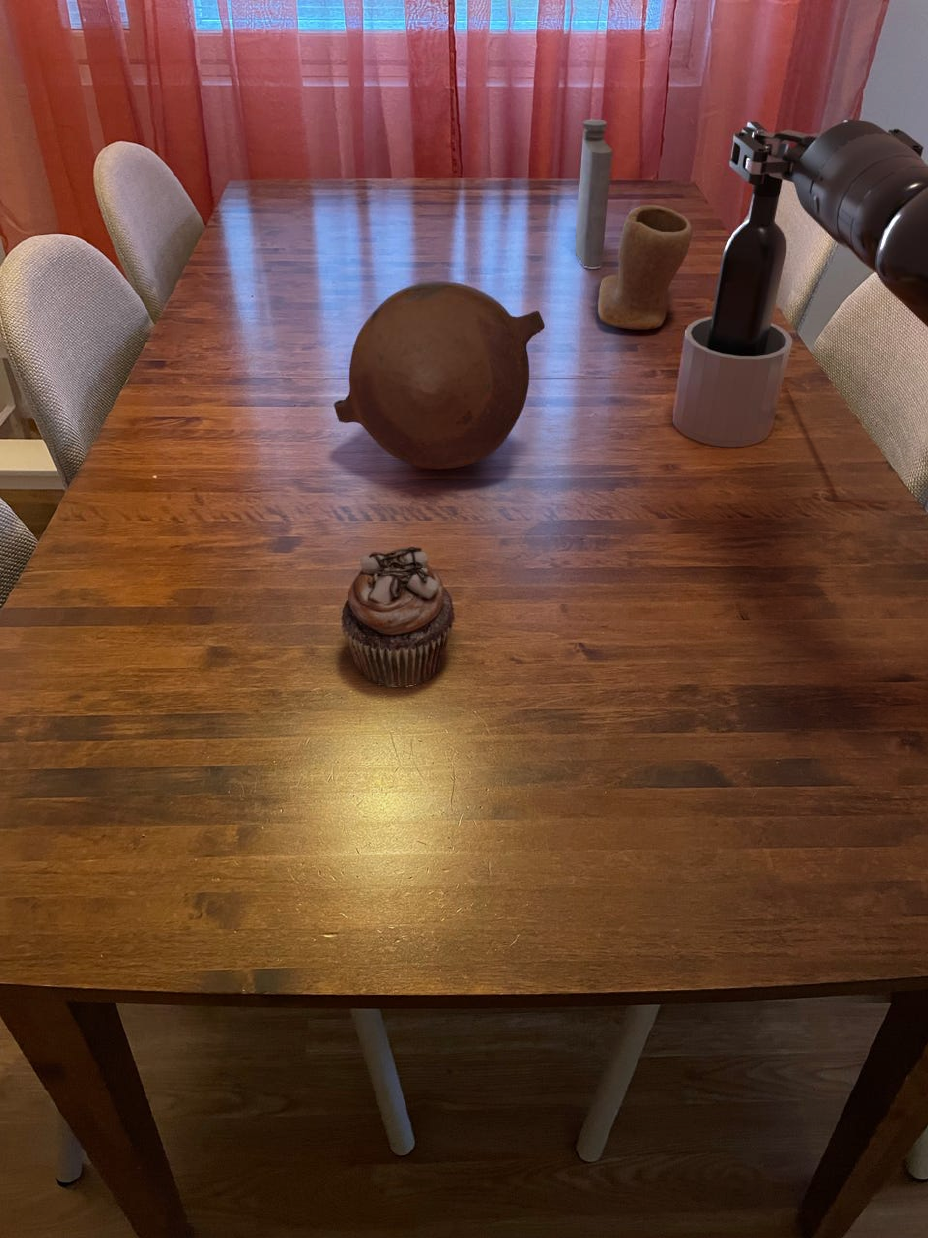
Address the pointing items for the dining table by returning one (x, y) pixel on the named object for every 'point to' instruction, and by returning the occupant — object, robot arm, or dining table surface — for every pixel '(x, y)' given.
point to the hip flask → (593, 194)
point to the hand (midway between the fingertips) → (796, 132)
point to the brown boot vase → (644, 268)
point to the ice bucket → (728, 389)
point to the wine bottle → (750, 277)
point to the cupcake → (398, 618)
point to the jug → (439, 374)
